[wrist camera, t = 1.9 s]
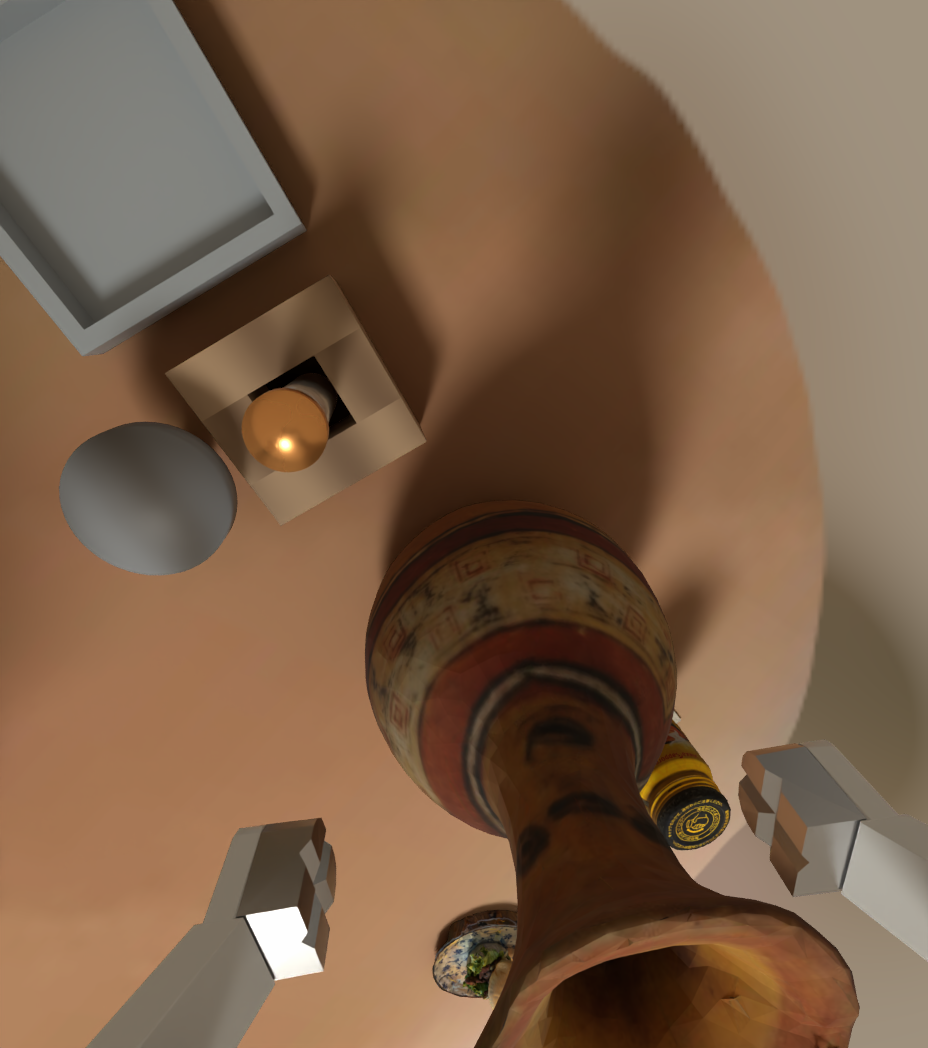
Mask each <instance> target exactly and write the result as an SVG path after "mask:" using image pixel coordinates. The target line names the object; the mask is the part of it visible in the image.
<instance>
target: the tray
mask: <svg viewBox="0 0 928 1048" xmlns="http://www.w3.org/2000/svg"><path fill="white" fill-rule="evenodd" d="M305 231H307V230H306V228H305V226H304V225H303V223H302V221H301V220H300V218H299V216H298V214H297V213H296V211H295V209H294V207H293V206H292V204H291V202H290V201H289V199H288V197H287V195H286V194H285V192H284V190H283V188H282V187H281V185H280V183H279V182H278V180H277V178H276V176H275V175H274V173H273V171H272V170H271V168H270V166H269V164H268V163H267V161H266V159H265V157H264V156H263V154H262V152H261V151H260V149H259V147H258V145H257V144H256V142H255V140H254V138H253V137H252V135H251V133H250V132H249V130H248V128H247V126H246V125H245V123H244V121H243V120H242V118H241V116H240V114H239V113H238V111H237V109H236V107H235V106H234V104H233V102H232V101H231V99H230V97H229V95H228V94H227V92H226V90H225V88H224V87H223V85H222V83H221V82H220V80H219V78H218V76H217V75H216V73H215V71H214V70H213V68H212V66H211V64H210V63H209V61H208V59H207V57H206V56H205V54H204V52H203V51H202V49H201V47H200V45H199V44H198V42H197V40H196V38H195V37H194V35H193V33H192V32H191V30H190V28H189V26H188V25H187V23H186V21H185V20H184V18H183V16H182V14H181V13H180V11H179V9H178V7H177V6H176V4H175V2H174V1H173V0H0V256H1V257H2V259H3V260H4V261H5V262H6V263H7V265H8V266H9V267H10V268H11V270H12V271H13V272H14V273H15V274H16V276H17V277H18V278H19V279H20V281H21V282H22V283H23V284H24V285H25V287H26V288H27V289H28V290H29V292H30V293H31V294H32V295H33V296H34V298H35V299H36V300H37V301H38V303H39V304H40V305H41V306H42V307H43V309H44V310H45V311H46V312H47V314H48V315H49V316H50V317H51V318H52V320H53V321H54V322H55V323H56V325H57V326H58V327H59V328H60V329H61V331H62V332H63V333H64V334H65V336H66V337H67V338H68V339H69V340H70V342H71V343H72V344H73V345H74V347H75V348H76V349H77V350H78V351H79V353H80V354H81V355H82V356H89V355H97V354H104V353H105V352H107V351H109V350H110V349H112V348H114V347H115V346H117V345H118V344H120V343H122V342H123V341H125V340H127V339H128V338H130V337H132V336H133V335H135V334H137V333H138V332H140V331H142V330H143V329H145V328H147V327H148V326H150V325H152V324H153V323H155V322H157V321H158V320H160V319H161V318H163V317H165V316H166V315H168V314H170V313H171V312H173V311H175V310H176V309H178V308H180V307H181V306H183V305H185V304H186V303H188V302H190V301H191V300H193V299H195V298H196V297H198V296H200V295H201V294H203V293H204V292H206V291H208V290H209V289H211V288H213V287H214V286H216V285H218V284H219V283H221V282H223V281H224V280H226V279H228V278H229V277H231V276H233V275H234V274H236V273H238V272H239V271H241V270H242V269H244V268H246V267H247V266H249V265H251V264H252V263H254V262H256V261H257V260H259V259H261V258H262V257H264V256H266V255H267V254H269V253H271V252H272V251H274V250H276V249H277V248H279V247H281V246H282V245H284V244H285V243H287V242H289V241H290V240H292V239H294V238H295V237H297V236H299V235H300V234H302V233H304V232H305Z"/></svg>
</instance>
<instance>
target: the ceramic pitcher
mask: <svg viewBox="0 0 928 1048" xmlns="http://www.w3.org/2000/svg"><path fill="white" fill-rule="evenodd" d="M365 669H366V684H367V691H368V695H369V699H370V703H371V706H372V710H373V713H374V716H375V718H376V721H377V724H378V727H379V729H380V730H381V732H382V734H383V736H384V738H385V740H386V742H387V744H388V746H389V748H390V750H391V752H392V754H393V755H394V757H395V758H396V760H397V761H398V762H399V764H400V765H401V767H402V768H403V769H404V771H405V772H406V774H407V775H408V776H409V777H410V778H411V779H412V780H413V781H414V783H415V784H416V785H417V786H418V787H419V788H420V789H421V790H422V792H424V793H425V794H426V795H427V796H428V797H429V798H430V799H431V800H433V801H434V802H435V803H436V804H438V805H439V806H440V807H442V808H443V809H444V810H446V811H447V812H448V813H450V814H451V815H452V816H454V817H456V818H458V819H459V820H461V821H463V822H465V823H466V824H468V825H470V826H472V827H474V828H476V829H479V830H481V831H483V832H486V833H488V834H491V835H495V836H499V837H503V838H507V839H508V840H509V843H510V848H511V853H512V857H513V862H514V866H515V871H516V883H517V899H518V914H517V939H516V944H515V950H514V955H513V960H512V965H511V968H510V971H509V974H508V977H507V980H506V983H505V985H504V988H503V990H502V992H501V995H500V997H499V999H498V1001H497V1003H496V1006H495V1008H494V1010H493V1012H492V1014H491V1016H490V1018H489V1020H488V1022H487V1024H486V1026H485V1027H484V1029H483V1031H482V1033H481V1035H480V1037H479V1039H478V1041H477V1043H476V1045H475V1047H474V1048H848V1045H849V1041H850V1036H851V1032H852V1028H853V1025H854V1023H855V1020H856V1018H857V1017H858V1015H859V1008H860V1007H859V1003H858V1000H857V996H856V990H855V985H854V980H853V975H852V971H851V970H850V968H849V967H848V965H847V964H846V962H845V960H844V959H843V957H842V956H841V954H840V953H839V951H838V950H837V948H836V947H834V946H833V945H832V944H831V943H830V942H829V941H828V940H827V939H826V938H825V937H823V936H822V935H821V934H820V933H819V932H818V931H817V930H816V929H814V928H813V927H812V926H811V925H809V924H808V923H807V922H805V921H804V920H803V919H802V918H801V917H799V916H798V915H796V914H795V913H794V912H791V911H789V910H786V909H783V908H781V907H778V906H775V905H772V904H768V903H764V902H760V901H757V900H752V899H745V898H737V897H730V896H724V895H721V894H719V893H717V892H714V891H712V890H710V889H708V888H705V887H703V886H701V885H699V884H698V883H696V882H695V881H694V880H693V879H692V878H691V877H690V876H689V874H688V873H687V872H686V871H685V869H684V868H683V867H682V866H681V864H680V863H679V861H678V859H677V858H676V856H675V854H674V853H673V851H672V849H671V848H670V846H669V844H668V843H667V841H666V839H665V838H664V836H663V834H662V833H661V831H660V830H659V828H658V827H657V825H656V824H655V823H654V821H653V820H652V818H651V817H650V816H649V814H648V811H647V809H646V807H645V804H644V802H643V800H642V798H641V795H640V792H641V790H642V789H643V788H644V786H645V785H646V783H647V782H648V780H649V778H650V776H651V774H652V772H653V769H654V767H655V765H656V763H657V761H658V759H659V757H660V755H661V753H662V750H663V747H664V745H665V742H666V739H667V737H668V734H669V731H670V727H671V723H672V718H673V713H674V705H675V697H676V689H677V670H676V662H675V655H674V648H673V643H672V639H671V635H670V631H669V627H668V624H667V622H666V619H665V617H664V615H663V612H662V610H661V608H660V605H659V603H658V600H657V598H656V597H655V595H654V593H653V591H652V590H651V588H650V586H649V584H648V583H647V581H646V579H645V577H644V576H643V574H642V572H641V571H640V570H639V569H638V568H637V566H636V565H635V564H634V563H633V561H632V560H631V559H630V558H629V557H628V555H627V554H626V553H625V552H624V551H623V550H622V549H621V548H620V546H619V545H618V544H617V543H616V542H615V541H614V540H613V539H612V538H610V537H609V536H608V535H607V534H605V533H604V532H603V531H601V530H600V529H599V528H597V527H596V526H595V525H593V524H592V523H590V522H588V521H586V520H585V519H583V518H581V517H579V516H577V515H574V514H572V513H570V512H567V511H565V510H563V509H559V508H556V507H552V506H548V505H545V504H541V503H537V502H529V501H520V500H502V501H490V502H483V503H477V504H473V505H470V506H466V507H463V508H460V509H458V510H456V511H454V512H452V513H450V514H448V515H446V516H444V517H442V518H441V519H439V520H438V521H436V522H434V523H433V524H431V525H430V526H429V527H427V528H426V529H425V530H424V531H422V532H421V533H420V534H419V535H418V536H417V537H415V538H414V539H413V540H412V541H411V542H410V543H409V544H408V545H407V546H406V547H405V548H404V550H403V551H402V552H401V553H400V554H399V555H398V557H397V558H396V559H395V560H394V562H393V563H392V565H391V566H390V567H389V569H388V571H387V573H386V575H385V577H384V579H383V581H382V583H381V585H380V587H379V590H378V592H377V595H376V598H375V601H374V604H373V607H372V610H371V613H370V617H369V622H368V627H367V632H366V644H365Z"/></svg>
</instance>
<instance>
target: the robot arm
mask: <svg viewBox="0 0 928 1048" xmlns="http://www.w3.org/2000/svg"><path fill="white" fill-rule="evenodd" d="M741 766H742V768H743V769H744V771H745V772H746V774H747V775H746V776H745V777H744V778H743V779H742V780H741V781H740V782H739V793H738V796H739V800H740V805H741V809H742V812H743V814H744V817H745V819H746V821H747V823H748V825H749V827H750V828H751V830H752V832H753V833H754V835H755V836H756V837H757V838H759V839H760V840H762V841H763V842H765V843H767V844H768V845H769V846H771V849H770V861H771V863H772V864H773V866H774V867H775V869H776V870H777V872H778V874H779V875H780V877H781V879H782V880H783V882H784V883H785V885H786V887H787V888H788V890H789V891H790V893H791V895H792V896H793V897H797V896H805V895H813V894H821V893H829V892H837V891H842V893H841V894H842V895H843V896H845V897H846V898H847V899H848V900H850V901H851V902H852V903H854V904H855V905H856V906H858V907H859V908H860V909H861V910H862V911H864V912H865V913H866V914H868V915H869V916H870V917H871V918H873V919H874V920H875V921H877V922H878V923H879V924H880V925H882V926H883V927H884V928H886V929H887V930H888V931H890V932H891V933H892V934H893V935H894V936H896V937H897V938H899V940H901V941H902V942H903V943H905V944H906V945H907V946H908V947H910V948H911V949H912V950H913V951H915V952H916V953H918V954H919V955H920V956H921V957H922V958H924V959H925V960H926V961H928V825H927V824H925V823H923V822H921V821H919V820H917V819H916V818H914V817H912V816H910V815H908V814H904V815H898V814H897V812H896V811H895V810H894V809H893V808H892V807H891V806H890V805H889V804H888V803H887V802H886V801H885V800H884V798H883V797H882V796H880V794H879V793H878V792H877V791H876V790H875V789H874V788H873V787H872V786H871V784H870V783H869V782H868V781H867V780H866V779H865V778H864V777H863V776H862V775H861V774H860V773H859V772H858V770H857V769H856V768H855V767H854V766H853V765H852V764H851V763H850V762H849V761H848V760H847V759H846V758H845V756H844V755H843V754H842V753H841V752H840V751H839V750H838V749H837V748H836V747H835V746H834V745H833V744H832V743H831V742H829V741H827V740H818V741H811V742H805V743H799V744H795V743H794V744H788V745H782V746H776V747H770V748H764V749H758V750H753V751H747V752H746V753H745V754H744V755H743V758H742V765H741ZM325 832H326V828H325V826H324V823H323V821H322V818H316V819H308V820H299V821H291V822H283V823H275V824H267V825H260V826H253V827H246V828H239V830H238V831H237V833H236V834H235V836H234V837H233V839H232V842H231V844H230V847H229V850H228V853H227V856H226V859H225V861H224V864H223V867H222V870H221V873H220V876H219V879H218V881H217V884H216V887H215V890H214V893H213V896H212V899H211V901H210V904H209V907H208V910H207V913H206V916H205V918H204V921H203V923H202V924H197V925H194V926H193V927H192V928H191V929H190V930H189V932H188V933H187V934H186V935H185V936H184V937H183V938H182V939H181V941H180V942H179V943H178V944H177V945H176V946H175V947H174V949H173V950H172V951H171V952H170V953H169V954H168V955H167V956H166V958H165V959H164V960H163V961H162V962H161V963H160V964H159V965H158V967H157V968H156V969H155V970H154V971H153V972H152V973H151V975H150V976H149V977H148V978H147V979H146V980H145V981H144V982H143V984H142V985H141V986H140V987H139V988H138V989H137V990H136V991H135V993H134V994H133V995H132V996H131V997H130V998H129V999H128V1000H127V1002H126V1003H125V1004H124V1005H123V1006H122V1007H121V1008H120V1010H119V1011H118V1012H117V1013H116V1014H115V1015H114V1016H113V1017H112V1019H111V1020H110V1021H109V1022H108V1023H107V1024H106V1025H105V1026H104V1028H103V1029H102V1030H101V1031H100V1032H99V1033H98V1034H97V1036H96V1037H95V1038H94V1039H93V1040H92V1041H91V1042H90V1043H89V1045H88V1046H87V1047H86V1048H237V1046H238V1044H239V1043H240V1041H241V1039H242V1038H243V1036H244V1034H245V1033H246V1031H247V1030H248V1028H249V1026H250V1025H251V1023H252V1021H253V1020H254V1018H255V1016H256V1015H257V1013H258V1011H259V1010H260V1008H261V1006H262V1005H263V1003H264V1002H265V1000H266V998H267V997H268V995H269V993H270V992H271V990H272V988H273V987H274V985H275V982H274V980H280V979H285V978H290V977H295V976H301V975H306V974H311V973H316V972H322V971H324V964H325V958H326V951H327V944H328V938H329V931H330V927H329V925H328V922H327V919H326V916H325V913H326V912H327V910H328V909H329V908H330V906H331V905H332V903H333V902H334V896H335V888H336V862H335V856H334V852H333V849H332V846H331V845H330V844H328V843H327V842H325V841H324V838H325Z"/></svg>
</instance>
